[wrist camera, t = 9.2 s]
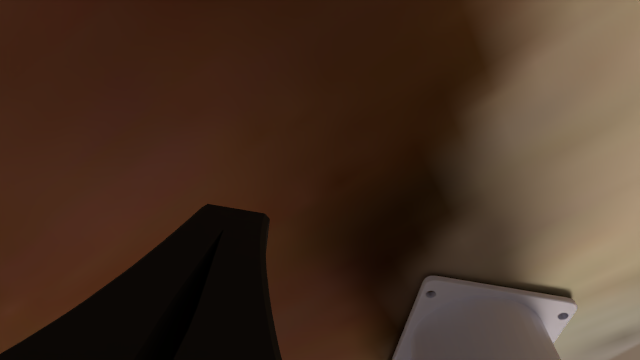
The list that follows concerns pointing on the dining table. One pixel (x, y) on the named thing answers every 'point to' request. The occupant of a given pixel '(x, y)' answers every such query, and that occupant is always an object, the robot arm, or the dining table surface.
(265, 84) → the dining table surface
